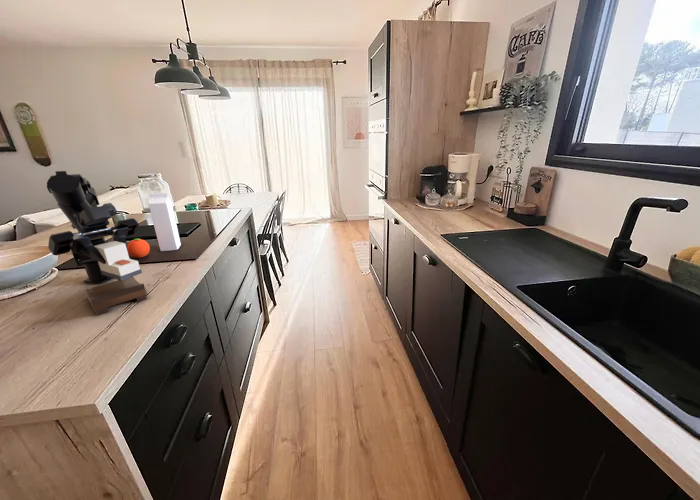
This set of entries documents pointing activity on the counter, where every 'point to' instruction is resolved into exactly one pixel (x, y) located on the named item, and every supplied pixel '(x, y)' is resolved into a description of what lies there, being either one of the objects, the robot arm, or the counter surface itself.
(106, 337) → the counter surface
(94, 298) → the brown wooden stand
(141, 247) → the clementine
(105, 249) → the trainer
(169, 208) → the milk
